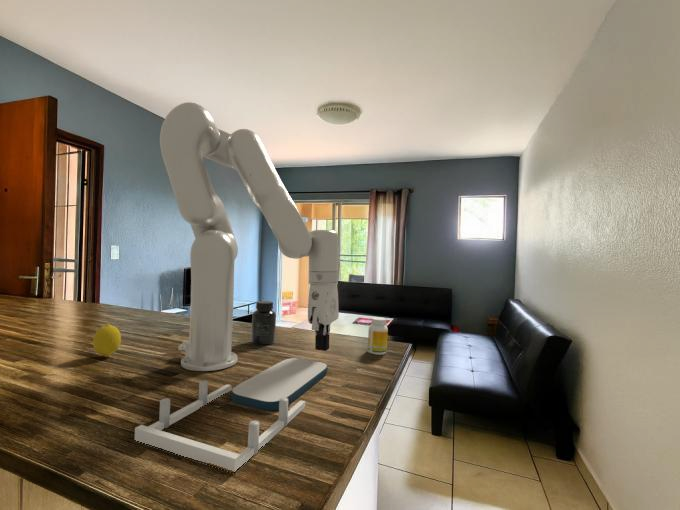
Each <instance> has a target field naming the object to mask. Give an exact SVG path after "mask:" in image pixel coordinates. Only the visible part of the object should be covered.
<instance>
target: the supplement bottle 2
mask: <svg viewBox="0 0 680 510" xmlns="http://www.w3.org/2000/svg"><path fill="white" fill-rule="evenodd" d="M386 324H387V319H386V318H385V317H380V316H374V317H371V324H370V325H369V326H368V335H367V337H368V339H367V352H368V353H369V354H372V355H378V356H381V355H386V354H387V350H388V335H389V334H388V333H389V329H388V326H387V325H386Z"/></svg>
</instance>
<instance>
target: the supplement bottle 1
mask: <svg viewBox="0 0 680 510" xmlns="http://www.w3.org/2000/svg"><path fill="white" fill-rule="evenodd" d="M255 309H256V310H255V311H253V312H252V315H251V316H252V318H251V342H250V343H252V344H253V345H256V346H270V345H273V344H274V343H275V341H276V324H277V323H276V321H277V314H276V312H275V311H274V310H273V309H274V302H273V301H270V300H261V301H260V300H259V301H256V306H255Z"/></svg>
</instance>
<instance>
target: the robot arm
mask: <svg viewBox="0 0 680 510" xmlns="http://www.w3.org/2000/svg"><path fill="white" fill-rule="evenodd" d="M159 146H160V153H161V156H162V160H163V163H164V166H165V169H166V173H167V175H168V178H169V183H170V185H171V188H172V191H173V194H174V197H175V200H176V204H177V207H178V210H179V213H180V215H181V217H182V219H183V220H184V221H185V222H186V223H188V224H189V225H190V227H191V230H192V233H193V236H194V237H195V238H194V240H193V242H192V245H191V248H190V261H189V262H190V280H191V281H190V313H189V337H188V339H189V340H187V339H184V340H183V341H182V342H181V344H179V345H178V347H177V349H178V350H179V351H181V352H182V351H183V352H185V355H184V356H183V357H182V358H181V360H180V366H181V367H182V368H183V369H185V370H188V371H193V372H211V371H219V370H223V369H224V370H225V369H227V368H230V367H232V366H234V365H236V363H237V362H238V354H236V353H235V352H233V351H232V345H233V344H232V340H233V321H234V320H233V319H234V317H233V316H234V298H235V297H234V290H235V260H236V258H238V253H239V252H238V251H239V250H238V249H239V247H238V243H237V240H236V237H235V234H234V231H233V228H232V225H231V223H230V219H229V217H228V214H227V210H226V208H225V205H224V203H223V201H222V199H221V198H220V197H219V196H218V195H217V193H216V192H215V189H214V186H213V183H212V182H211V179H210V178H211V177H210V176H209V172H208V168H207V166H206V163H205V161H204V158H205V159H208V160H210V161H213V162H215V163H217V164H220V165H222V166H224V167H227V168H229V169H232V170H235V171H236V173H238V175H239V177H240V179H241V181H242V183H243V185H244V187H245V188H246V191H247V193H248V195H249V197H250V198H251V200H252V203H254V205H255V206H256V207H257V208H258V209H259V211H260V212H261V214H263V216H264V218H265V220H266V222H267V223H268V225H269V228H270V229H271V232H272V233H273V235H274V237H275V239H276V241H277V245H278V246H277V247H278V249H279V251H280V253H282V255H283V256H285V257H287V258H289V259H294V260H295V259H297V260H298V259H301V258H304V257H308V284H309V289H308V300H307V301H308V304H307V322H308V323H309V324H311V330H312V331H314V335H315V337H314V338H315V339H314V341H315V344H314V345H315V350H316V351H323V352H324V351H325V352H327V351H328V350H329V349H330V332H331V324H332V323H334V322H336V320H338V319H339V315H340V314H339V313H340V312H339V291H338V290H339V289H338V284H339V283H338V282H339V272H338V271H339V234H338V232H337V231H336V230H332V229H314V230H311V231H310V230H309V229H308V227H307V225H306V223H305V221H304V219H303V218H302V216H301V213H300V211H299V210H298V207H297V206H296V204H295V202H294V201H293V199H292V197H291V195H290V194H289V192H288V189H287V188H286V187H285V185H284V182H283V181H282V179H281V177H280V175H279V174H278V172H277V170H276V168H275V166H274V163H273V161H272V160H271V158H270V155H269V153H268V152H267V150H266V147H265V146H264V143H263V142H262V140H261V138H260V137H259V136H258V134H257V133H256V132H254V131H253V130H251V129H248V128H241V129H237V130H235V131H233V132H231V133H229V132H227V131H224V130H221V129H220V128H218V127H217V125H216V121H215V120H214V117H213V116H212V115H211V113H210V112H209V111H208V110H207V109H206V108H205V107H204V106H202V105H200V104H198V103H196V102H192V101H191V102H190V101H189V102H183V103H180V104H178V105H176V106H175V107H174V108H172V109H171V110H170V111H169V112H168V114H167V115H166V116H165V119H164V120H163V122H162V124H161V128H160V133H159Z"/></svg>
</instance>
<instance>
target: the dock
mask: <svg viewBox="0 0 680 510" xmlns="http://www.w3.org/2000/svg"><path fill="white" fill-rule="evenodd" d="M208 384H209V381H208V380H207V379H206V380H201V381H199V383H198V399H197V400H195V401H193V402H191V403H189V404H188V405H185V406H183V407H182V408H180V409H178V410H176V411H174V412H172V413H171V398H168V397H165V398H162V399H160V400H159V413H158V414H159V415H158V416H159V418H158V419H159V420H158V421H156V422H154V423H152V424H150V425H148V426H147V425H144V424H140V425H138V426H136V427H135V428H134V440H136V441H135V442H137V441H139V442H138V443H140V442H142V443H141V444H143V443H145V444H144V445H146V444H149V445H152V446H155V447H158V448H162V449H164V450H167V451H170V452H173V453H175V454H174V455H176V454H178V455H177V456H179V455H181V456H180V457H182V456H184V457H183V458H185V457H188V458H192V459H194V460H198V461H202V462H206V463H211V464H214V465H217V466H220V467H223V468H226V469H228V470H232V471H234V472H235V471H236V470H237V469H238V468H239V467H241V466H242V465H243V464H244V463H245V462H246V463H248V462H249V461H250V460H251V459H252V458H253V457H254V456H255V455H254V454H256V453H257V452H258V453H259V451H260V450H261V449H262V448H263V447H264V446H266V445H267V444H268V443H269V442H270V441H271V440H272V439H273V438H274V437H275V436H276V435H277V434H279V432H280V431H281V430H283V429H284V428H285V427H288V424H289V423H290V422H292V420H293V419H294V418H295V417H297V415H298V414H300V413H301V412H302V411H303V410H304V409H305V408H306V402H307V401H306V400H299V401H298V402H297V403H296V404H294V405H293V406H292V407H290V408H289V405H288V398H281V399H280V400H279V410H278V419H277V420H276V421H275V422H274V423H272V424H271V425H270V426H269V427H268V428H267V429H266V430H265V431H264V432H262V433H261V434H260V421H258V420H251V421H249V423H248V431H247V432H248V435H247V446H246V447H245V448H243V450H242V451H241V452H239V453H236V452H233V451H229V450H227V449H223V448H221V447H220V448H219V447H216V446H214V445H210V444H207V443H203V442H201V441H200V442H199V441H198V440H193V439H190V438H187V437H183V436H180V435H177V434H173V433H171V432H166V431H163V430H164V428H165V429H167V428H169V427H170V426H171V425H173V424H175V423H176V422H178V421H180V420H182V419H184V418H186V417H187V416H189V415H191V414H192V413H194V412H196V411H197V410H199V409H201V408H202V406H203V407H206V406H207V405H208V404H210V403H212V402H213V401H215V400H216V398H217V399H218V397H219V398H220V397H222V396H223V394H224V395H225V393H226V394H227V393H229V392H230V391H232V384H229V383H228V384H225V385H223V386H221V387H219V388H218V389H215V390H213V391H212V392H210V393H209V394H208V392H209V391H208V388H209V387H208V386H209V385H208ZM221 395H222V396H221ZM214 399H215V400H214ZM212 400H213V401H212ZM211 401H212V402H211ZM209 402H210V403H209ZM207 403H208V404H207ZM205 405H206V406H205ZM200 407H201V408H200ZM266 443H267V444H266ZM265 444H266V445H265ZM149 445H148V446H149ZM152 446H151V447H152ZM262 446H263V447H262ZM155 447H154V448H155ZM261 447H262V448H261ZM158 448H157V449H158ZM260 448H261V449H260ZM259 449H260V450H259ZM164 450H163V451H164ZM258 450H259V451H258ZM167 451H166V452H167ZM170 452H169V453H170ZM173 453H172V454H173ZM253 455H254V456H253ZM256 455H257V454H256ZM252 456H253V457H252ZM251 457H252V458H251ZM188 458H187V459H188ZM250 458H251V459H250ZM249 459H250V460H249ZM194 460H193V461H194ZM248 460H249V461H248ZM247 461H248V462H247ZM246 463H245V464H246ZM245 464H244V465H245ZM244 465H243V466H244ZM243 466H242V467H243ZM242 467H241V468H242Z"/></svg>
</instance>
